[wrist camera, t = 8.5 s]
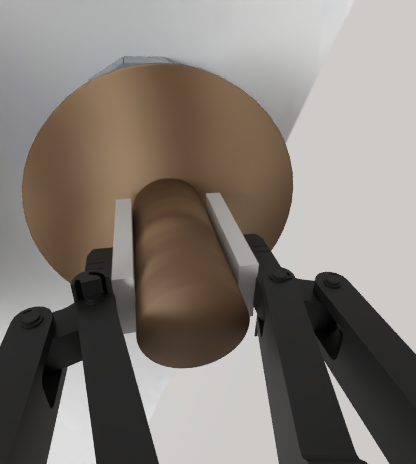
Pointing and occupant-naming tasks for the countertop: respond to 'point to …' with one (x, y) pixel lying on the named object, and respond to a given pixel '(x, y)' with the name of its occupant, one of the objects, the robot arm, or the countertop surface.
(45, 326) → the robot arm
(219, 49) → the countertop surface
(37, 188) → the lid
